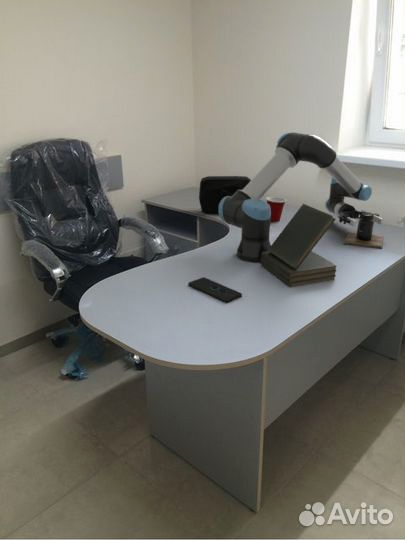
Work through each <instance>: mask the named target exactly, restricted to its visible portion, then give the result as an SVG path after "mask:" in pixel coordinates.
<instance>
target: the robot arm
mask: <svg viewBox="0 0 405 540" xmlns="http://www.w3.org/2000/svg"><path fill="white" fill-rule="evenodd" d="M276 143H277V144H276V145H275V150H274V152H275V153H274V156H272V158H270V159H269V161H268V162H267V163H266V164H265V165H264V166H263V167H262V168H261V169H260V171H258V173H257V174H256V175H255V176H254V177H253V178H252V179H250V180H251V181H250V182H249V183H248V185H247V186H246V187H245V188H244V189H243V190H237V191H236V192H235V193H234V195H233V196H226V197H224V198H223V199H222V200H221V202H220V204H219V210H218V212H219V214H218V215H219V218H220V220H222V222H225V223H226V224H228V225H232V226H234V227H237V228H239V229H241V238H240V240H239V241H240V242H239V244H238V246H237V249H236V256H237V258H238V259H240V260H242V261H244V262H249V263H261V253H262V252H266V251H268V249H269V248H270V246H271V245H272V244H271V241H270V233H271V232H270V231H271V221H270V219H271V208H270V205H269V204H268V203H267V201H265V200H261V199H262V198H263V197H264V196H265V194H267V192H268V191H269V190H270V189H271V188H272V187H273V186H274V185H275V183H276V182H277V181H278V180H279V179H280V178H281V177H282V176H283V175H284V174H285V173H286V172H287V171H288V170H289V168H291V169H292V168H295V167H296V166H297V165H298V164H299V162H307V163H311V164H314V165H315V166H317V167H318V168H319V169H324V170H325V172H326V173H327V174H328V175H330V177H331V182H330V186H329V187H330V189H329V196H328V197H329V198H327V199H326V201H325V202H324V206H325V207H324V208H325V209H326V210H327V211H328V212H329V213H332V214H334V215H336V216H337V218H338V222H339V223H343V225H347V224H348V225H350V226H352V227H354V228H356V224H357V220H355V219H358V220H360V219H362V218H361V216H362V213H370V214H373V219H372V220H373V221H374V223H377V224H378V225H381V226H382V225H383V223H384V222H383V220H384V219H383V218H382V217H380V214H377V213H373V212H369V211H365V210H364V209H363V210H361V211H360V210H357V209H356V208H355V206H354V205H351V204H349V203H347V202H346V201H345V199H346V198H349V199H353V200H358V201H363V202H367V201H369V199H370V198H371V196H372V194H373V189H372V187H371V186H370V185H367V184H363V183H362V182H361V180H359V179H358V177H356V175H354V173H353V172H352V171H351V170H350V169H349V168H348V167H347V165H345V164H344V162H342V161H341V160H340V158H339V157H338V156H337V152H336V150H335V149H334V148H333V147H332V146H331V145H330V144H329V143H327V142H326V141H325V140H324V139H322V138H321V137H319V136H317V135H315V134H308V133H307V134H306V133H300V132H287V133H284V134H283V135H281V136H280V137H279V139H278V140H277V142H276Z"/></svg>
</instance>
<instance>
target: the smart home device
mask: <svg viewBox="0 0 405 540" xmlns="http://www.w3.org/2000/svg"><path fill="white" fill-rule="evenodd" d="M188 287H190V288H192V289H193V290H196V291H198V292H200V293H202V294H205V295H206V296H208V297H211V298H213V299H215V300H217V301H219V302H221V303H223V304H228V303H231V302H233V301H237V300H238V299H240V298H242V295H243V294H242V292H239V291H237V290H235V289H233V288H231V287H227V286H225V285H223V284H221V283H218V282H216V281H214V280H212V279H209V278H207V277H200V278H197V279H195V280H192V281H189V282H188Z"/></svg>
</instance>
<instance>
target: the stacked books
mask: <svg viewBox="0 0 405 540" xmlns="http://www.w3.org/2000/svg"><path fill="white" fill-rule="evenodd" d="M335 221H336V218H335V217H333V215H331V214H329V213H326V212H324V211H321V210H320V209H317V208H314V207H313V206H310V205H309V204H305V203H302V204H301V206H300V207H299V208H298V210H297V211H296V212H295V214H294V215H293V216H292V217H291V218H290V220H289V222H288V223H287V224H286V226H285V227H284V228H283V229H282V230H281V232H280V233H279V235H278V236H277V237H276V238H275V239H274V241H273V242H272V244H271V246H270V248H269V249H268V251H266V252H262V253H261V262H260V266H261V267H262V268H263V269H265V270H266V271H267V272H269V274H271V275H272V276H274V277H275V278H276V279H278V280H279V281H280V282H282V283H283V284H284V285H286V286H287V287H288V288H290V289H291V288H294V287H302V286H306V285H311V284H319V283H324V282H325V283H326V282H330V281H335V280H336V278H335V277H337V275H336V272H337V267H338V265H337V264H335V263H334V262H331V261H330V260H328V259H326V258H324V257H323V256H321V255H319V254H318V253H316V252H315V251H313V249H314V248H315V247H316V245H317V244H318V243H319V242H320V240H321V239H322V237H323V236H324V235H325V234H326V232H327V231H328V230H329V229H330V227H331V226H332V225H333V224H334V223H335Z"/></svg>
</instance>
